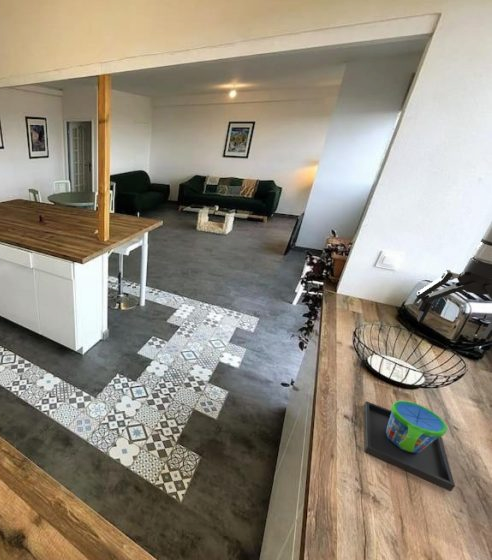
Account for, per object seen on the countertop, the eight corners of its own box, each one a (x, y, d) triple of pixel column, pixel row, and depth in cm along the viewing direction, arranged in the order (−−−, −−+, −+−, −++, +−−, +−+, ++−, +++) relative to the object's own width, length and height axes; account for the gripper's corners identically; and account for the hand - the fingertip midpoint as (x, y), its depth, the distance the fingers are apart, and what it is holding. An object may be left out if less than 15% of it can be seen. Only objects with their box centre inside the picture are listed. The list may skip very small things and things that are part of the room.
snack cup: (387, 414, 93) (402, 390, 89) (435, 440, 86) (453, 414, 81) (369, 442, 85) (384, 416, 81) (420, 473, 78) (440, 446, 73)
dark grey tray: (435, 433, 88) (439, 428, 88) (450, 491, 74) (455, 486, 73) (363, 405, 97) (365, 400, 96) (364, 452, 83) (367, 447, 82)
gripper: (429, 254, 84) (395, 319, 93) (578, 278, 70) (522, 352, 80) (424, 246, 89) (393, 309, 99) (562, 268, 76) (511, 338, 85)
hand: (451, 328), depth 89 cm, fingers open, 13 cm apart
